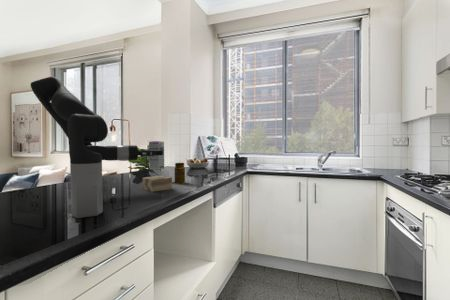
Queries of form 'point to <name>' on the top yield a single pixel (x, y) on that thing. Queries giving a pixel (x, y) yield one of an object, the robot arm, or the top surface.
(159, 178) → the wooden block
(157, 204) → the top surface
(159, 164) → the syrup box
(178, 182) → the condiment
